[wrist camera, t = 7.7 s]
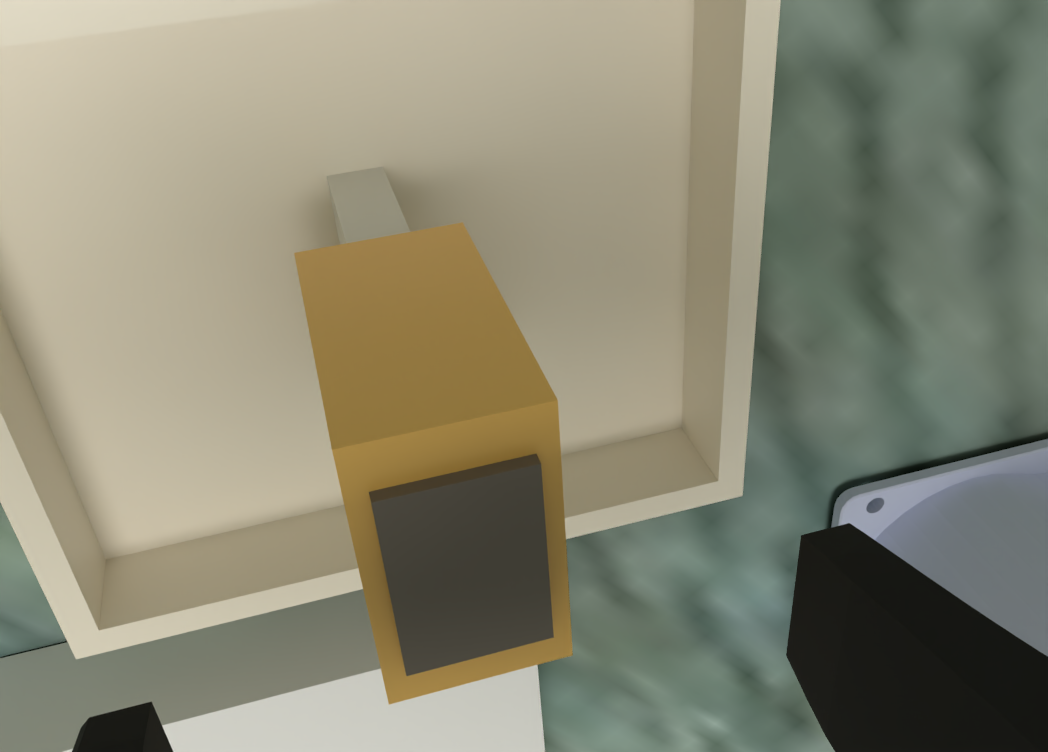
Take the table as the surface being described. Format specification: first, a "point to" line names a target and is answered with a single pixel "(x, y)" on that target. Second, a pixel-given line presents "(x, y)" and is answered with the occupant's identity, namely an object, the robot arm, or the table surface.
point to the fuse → (437, 447)
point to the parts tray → (308, 223)
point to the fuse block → (265, 691)
